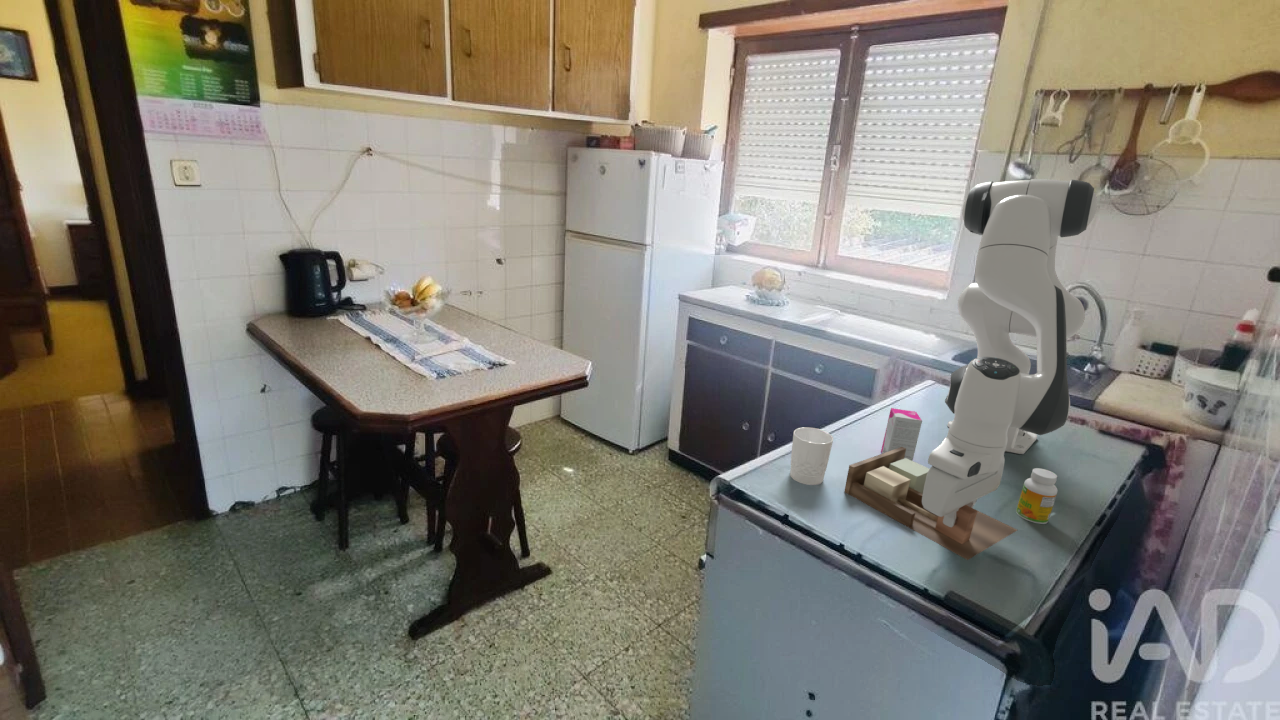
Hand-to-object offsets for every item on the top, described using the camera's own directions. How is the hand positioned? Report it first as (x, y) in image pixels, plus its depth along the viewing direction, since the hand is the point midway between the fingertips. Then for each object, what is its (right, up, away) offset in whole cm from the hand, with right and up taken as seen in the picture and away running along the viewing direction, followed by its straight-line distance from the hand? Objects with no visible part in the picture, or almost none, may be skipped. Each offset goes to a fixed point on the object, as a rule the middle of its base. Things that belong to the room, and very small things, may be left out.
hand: (955, 521), depth 106 cm
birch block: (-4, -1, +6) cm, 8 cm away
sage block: (-1, +2, +16) cm, 16 cm away
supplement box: (+2, +6, +30) cm, 30 cm away
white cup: (-22, +4, +18) cm, 29 cm away
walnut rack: (-1, 0, +9) cm, 9 cm away
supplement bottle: (+20, -2, +9) cm, 22 cm away
